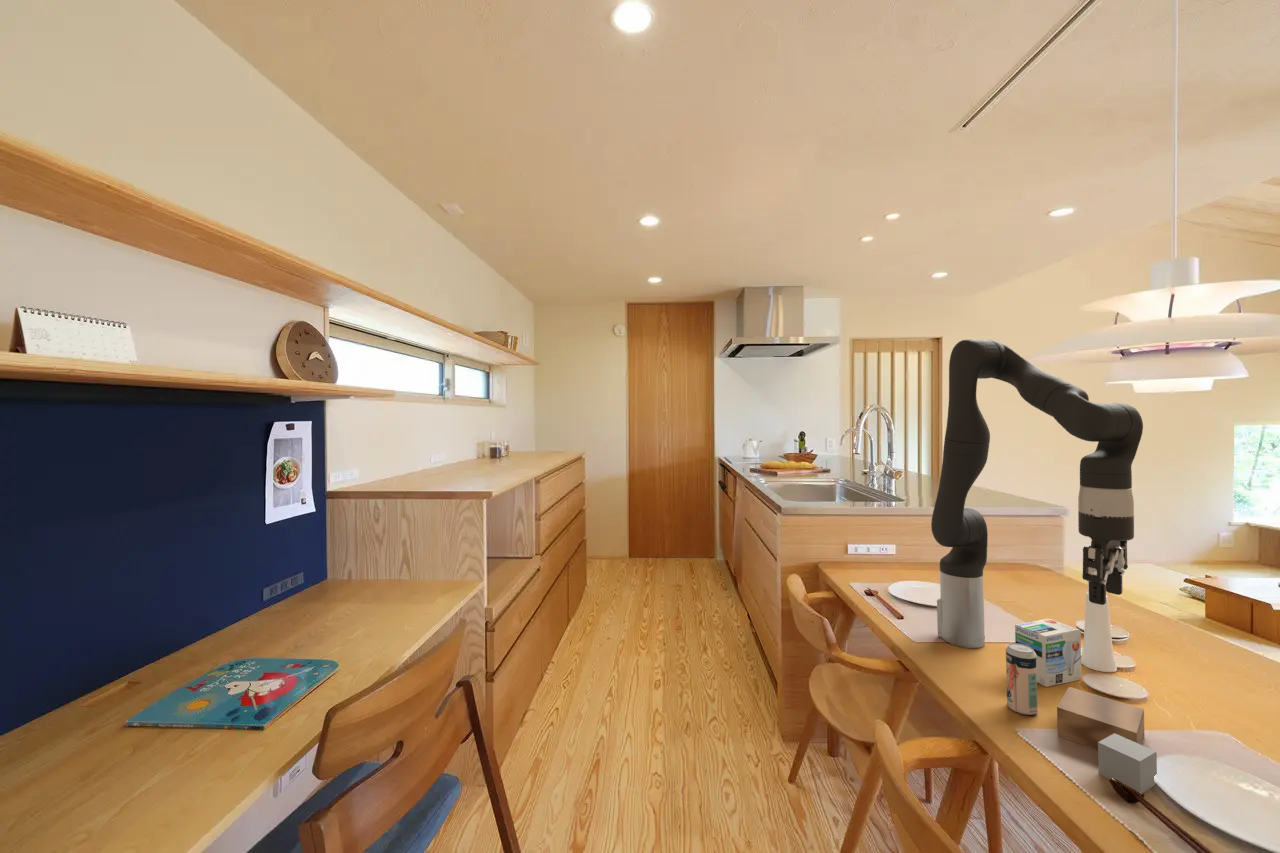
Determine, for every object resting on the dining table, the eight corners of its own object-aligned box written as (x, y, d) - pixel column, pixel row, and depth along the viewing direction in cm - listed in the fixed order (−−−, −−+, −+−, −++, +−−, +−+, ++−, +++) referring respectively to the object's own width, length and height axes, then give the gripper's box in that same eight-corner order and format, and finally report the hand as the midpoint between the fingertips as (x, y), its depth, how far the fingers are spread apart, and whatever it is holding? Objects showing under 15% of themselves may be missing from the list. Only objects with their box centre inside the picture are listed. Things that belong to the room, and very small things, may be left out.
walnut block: (1057, 735, 88) (1057, 707, 88) (1069, 713, 94) (1068, 686, 94) (1137, 764, 80) (1136, 733, 80) (1144, 737, 87) (1143, 708, 87)
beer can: (1007, 700, 99) (1006, 640, 99) (1038, 708, 96) (1036, 646, 96) (1006, 711, 95) (1004, 648, 95) (1037, 720, 92) (1036, 655, 92)
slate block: (1098, 773, 78) (1097, 742, 78) (1115, 764, 81) (1114, 733, 80) (1140, 794, 74) (1139, 761, 74) (1157, 784, 76) (1156, 751, 76)
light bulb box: (1046, 688, 103) (1045, 636, 103) (1014, 672, 110) (1013, 624, 110) (1083, 679, 106) (1082, 629, 106) (1049, 665, 113) (1048, 617, 113)
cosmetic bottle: (1073, 659, 115) (1071, 563, 115) (1103, 660, 114) (1101, 564, 114) (1093, 672, 109) (1090, 571, 109) (1124, 673, 108) (1122, 572, 108)
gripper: (1093, 504, 99) (1093, 585, 99) (1064, 512, 91) (1065, 600, 92) (1145, 509, 93) (1146, 596, 93) (1119, 519, 85) (1119, 613, 85)
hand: (1105, 598), depth 92 cm, fingers open, 8 cm apart
